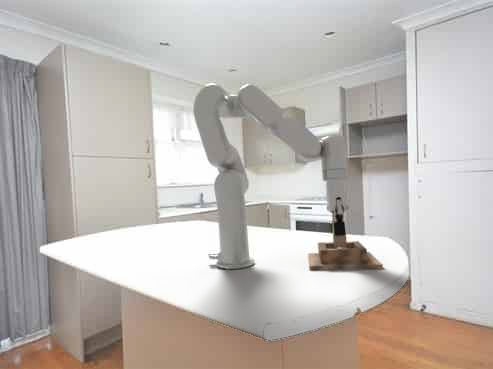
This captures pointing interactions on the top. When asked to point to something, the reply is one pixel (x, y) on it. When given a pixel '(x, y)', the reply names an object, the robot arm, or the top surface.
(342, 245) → the handle
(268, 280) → the top surface
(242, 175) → the robot arm
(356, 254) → the hub block
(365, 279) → the top surface
